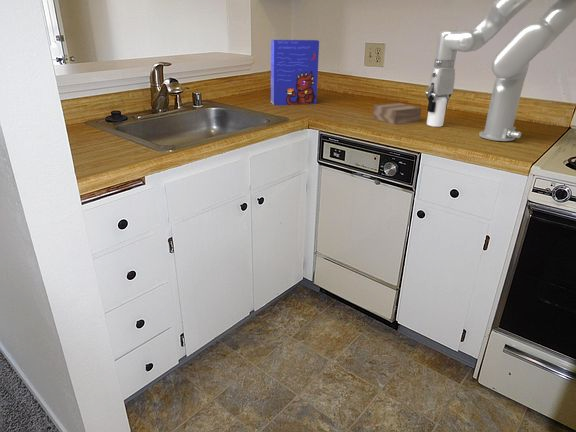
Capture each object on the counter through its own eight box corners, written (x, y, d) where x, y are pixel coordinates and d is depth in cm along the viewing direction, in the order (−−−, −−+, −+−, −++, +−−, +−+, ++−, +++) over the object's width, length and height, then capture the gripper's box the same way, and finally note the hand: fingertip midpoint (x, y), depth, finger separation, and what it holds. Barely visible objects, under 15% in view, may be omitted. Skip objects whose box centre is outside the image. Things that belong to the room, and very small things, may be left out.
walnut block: (419, 122, 186) (421, 108, 183) (394, 125, 180) (395, 110, 177) (397, 116, 197) (398, 102, 195) (372, 118, 191) (374, 104, 188)
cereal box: (312, 103, 222) (315, 39, 209) (316, 105, 216) (319, 40, 204) (270, 104, 216) (271, 39, 204) (273, 106, 211) (274, 39, 199)
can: (443, 127, 176) (448, 97, 171) (427, 126, 177) (431, 96, 172) (441, 124, 181) (446, 94, 176) (425, 123, 183) (430, 94, 178)
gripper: (437, 66, 162) (429, 114, 169) (466, 64, 171) (458, 110, 178) (421, 64, 168) (414, 111, 175) (450, 62, 176) (443, 107, 184)
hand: (436, 110), depth 177 cm, fingers closed on can, 6 cm apart
